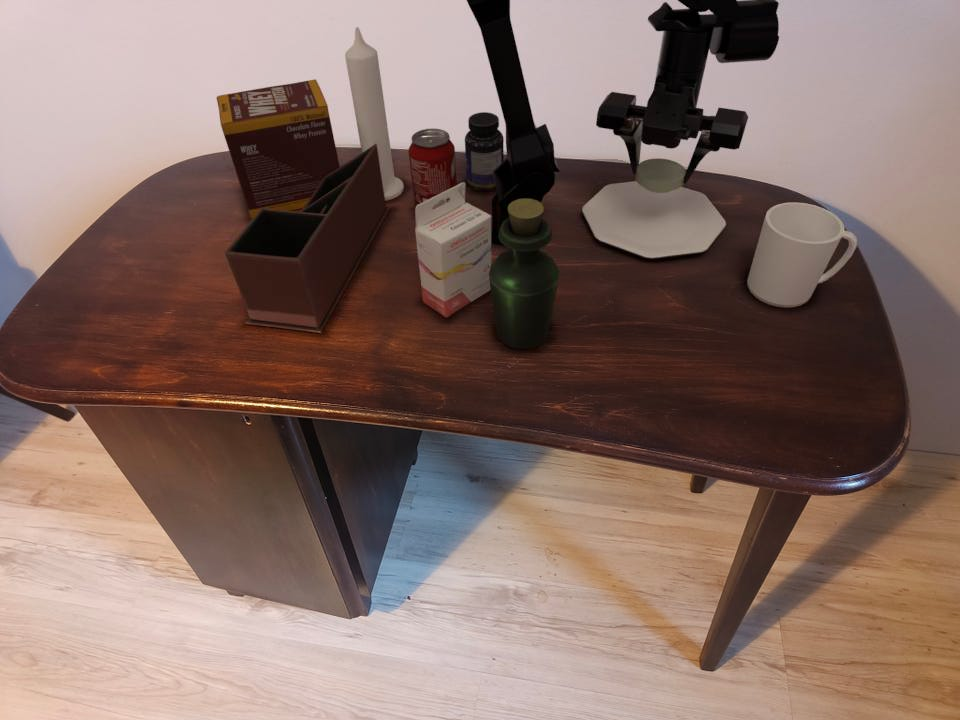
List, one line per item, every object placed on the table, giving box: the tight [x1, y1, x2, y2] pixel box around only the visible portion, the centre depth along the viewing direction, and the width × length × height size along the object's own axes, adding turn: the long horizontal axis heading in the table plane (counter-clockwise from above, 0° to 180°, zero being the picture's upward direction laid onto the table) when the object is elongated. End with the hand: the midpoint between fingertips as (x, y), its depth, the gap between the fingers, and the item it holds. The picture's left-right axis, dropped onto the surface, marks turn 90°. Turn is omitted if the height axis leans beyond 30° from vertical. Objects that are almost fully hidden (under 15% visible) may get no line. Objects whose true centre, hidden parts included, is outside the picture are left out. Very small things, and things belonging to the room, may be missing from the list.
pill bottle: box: [464, 111, 505, 193], centre depth 101 cm, size 6×6×11 cm
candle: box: [344, 26, 405, 202], centre depth 96 cm, size 7×7×25 cm
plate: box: [581, 180, 727, 260], centre depth 95 cm, size 20×20×2 cm
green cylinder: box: [634, 158, 687, 193], centre depth 90 cm, size 7×7×2 cm
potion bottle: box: [489, 198, 560, 351], centre depth 73 cm, size 8×8×18 cm
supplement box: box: [215, 78, 340, 219], centre depth 99 cm, size 10×15×16 cm
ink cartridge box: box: [414, 182, 492, 319], centre depth 80 cm, size 9×5×15 cm, turn 134°
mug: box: [746, 201, 858, 309], centre depth 80 cm, size 11×9×10 cm
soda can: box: [408, 128, 458, 210], centre depth 96 cm, size 7×7×12 cm
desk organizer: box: [224, 144, 391, 334], centre depth 87 cm, size 10×29×11 cm, turn 168°
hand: (659, 177), depth 90 cm, fingers closed on green cylinder, 7 cm apart
